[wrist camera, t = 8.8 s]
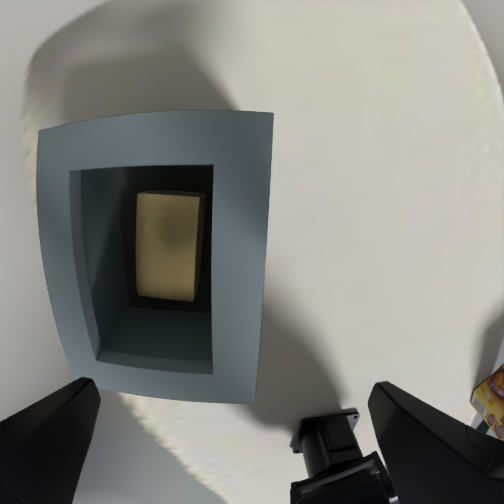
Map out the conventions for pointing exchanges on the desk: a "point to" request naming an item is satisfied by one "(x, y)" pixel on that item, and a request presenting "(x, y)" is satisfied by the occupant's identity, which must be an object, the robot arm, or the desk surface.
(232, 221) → the blue-grey open box
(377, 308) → the desk surface
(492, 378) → the candy box
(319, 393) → the desk surface
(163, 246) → the tan rectangular block
